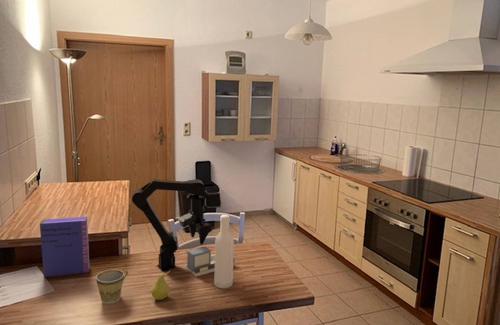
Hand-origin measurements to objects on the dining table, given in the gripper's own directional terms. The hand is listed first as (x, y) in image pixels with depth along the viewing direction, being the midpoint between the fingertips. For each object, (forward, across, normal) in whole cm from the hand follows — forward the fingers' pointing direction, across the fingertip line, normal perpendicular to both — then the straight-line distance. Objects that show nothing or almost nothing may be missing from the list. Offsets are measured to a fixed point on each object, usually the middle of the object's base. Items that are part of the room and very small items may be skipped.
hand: (197, 240), depth 171 cm
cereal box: (+12, -21, -52) cm, 57 cm away
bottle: (+12, +21, +2) cm, 24 cm away
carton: (+10, +5, -1) cm, 12 cm away
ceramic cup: (+12, +9, -39) cm, 42 cm away
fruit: (+12, +19, -24) cm, 33 cm away
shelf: (+12, +4, +5) cm, 13 cm away
